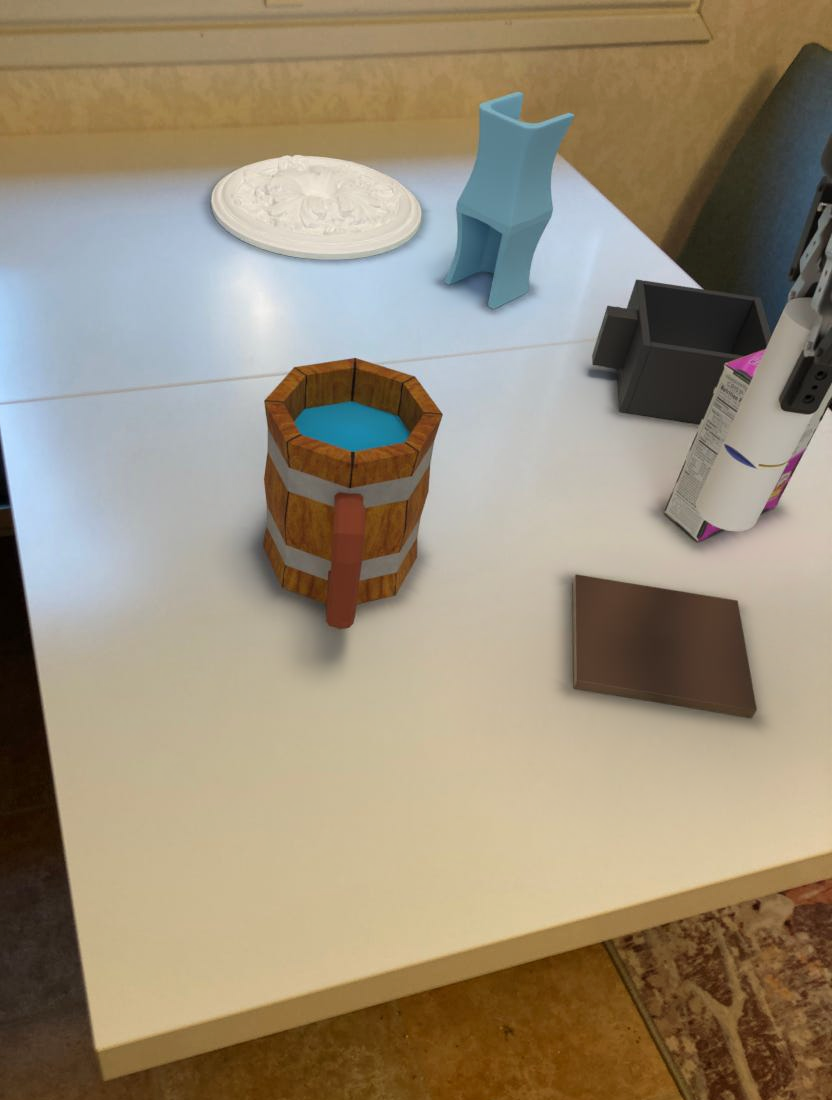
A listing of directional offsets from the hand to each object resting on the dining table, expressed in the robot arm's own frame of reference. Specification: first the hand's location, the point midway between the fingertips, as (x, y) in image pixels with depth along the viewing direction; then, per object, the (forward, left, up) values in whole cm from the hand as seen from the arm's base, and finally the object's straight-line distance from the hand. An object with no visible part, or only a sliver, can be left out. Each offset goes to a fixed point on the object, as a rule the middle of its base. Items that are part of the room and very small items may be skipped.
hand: (789, 385), depth 58 cm
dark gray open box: (-3, -40, -25) cm, 47 cm away
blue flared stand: (+17, -56, -25) cm, 64 cm away
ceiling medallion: (+41, -70, -25) cm, 85 cm away
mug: (+27, -2, -25) cm, 37 cm away
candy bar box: (-7, -19, -25) cm, 32 cm away
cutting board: (0, 0, -25) cm, 25 cm away
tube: (0, 0, -10) cm, 10 cm away
